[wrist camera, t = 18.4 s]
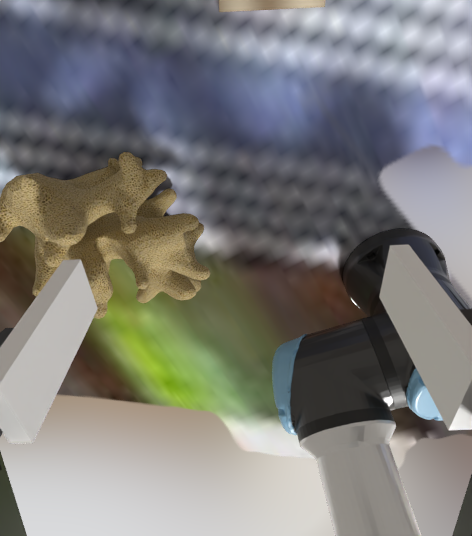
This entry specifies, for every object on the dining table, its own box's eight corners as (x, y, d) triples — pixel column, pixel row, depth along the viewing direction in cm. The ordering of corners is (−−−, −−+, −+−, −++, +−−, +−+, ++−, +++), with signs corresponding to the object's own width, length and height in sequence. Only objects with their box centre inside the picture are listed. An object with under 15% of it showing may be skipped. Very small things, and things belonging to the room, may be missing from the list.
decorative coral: (-105, 126, 34) (49, 265, 25) (94, 66, 46) (250, 144, 36) (6, 293, 53) (116, 406, 44) (126, 220, 65) (233, 298, 56)
